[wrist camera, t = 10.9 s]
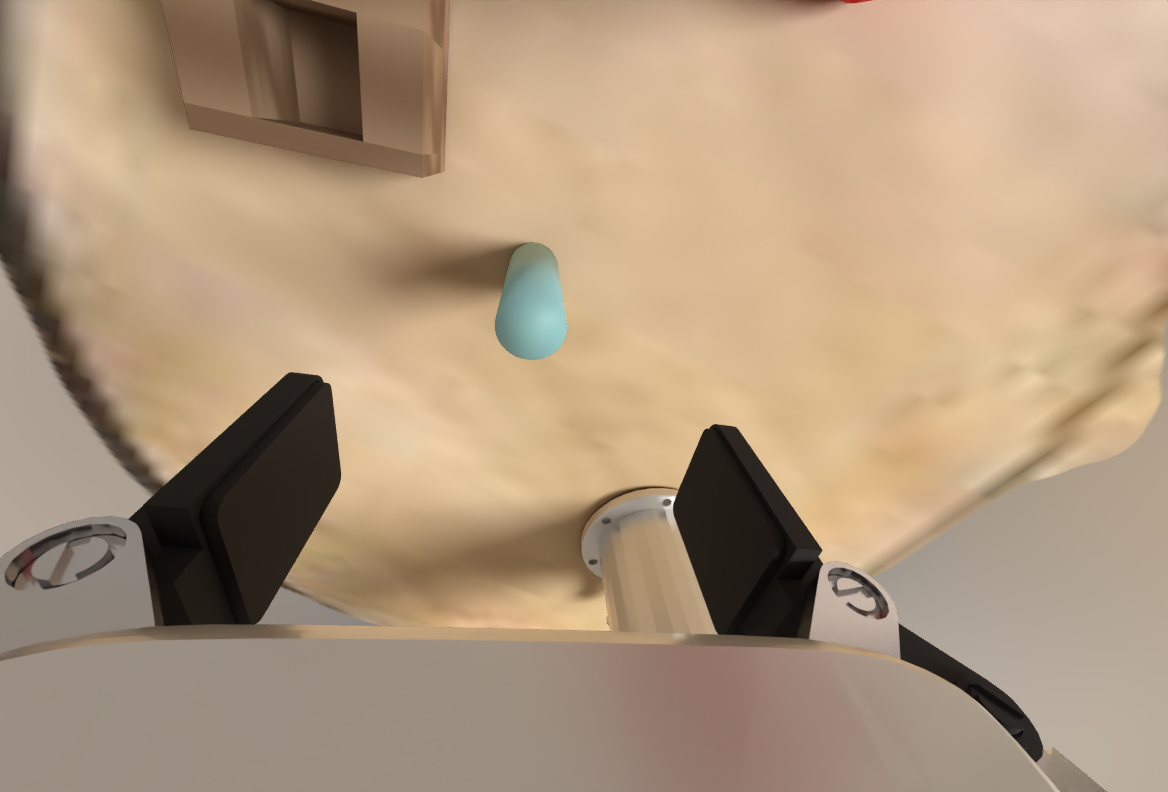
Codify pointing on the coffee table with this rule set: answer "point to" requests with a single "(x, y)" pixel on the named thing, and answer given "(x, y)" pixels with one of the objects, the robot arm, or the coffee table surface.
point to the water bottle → (854, 1)
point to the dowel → (531, 304)
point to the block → (318, 76)
